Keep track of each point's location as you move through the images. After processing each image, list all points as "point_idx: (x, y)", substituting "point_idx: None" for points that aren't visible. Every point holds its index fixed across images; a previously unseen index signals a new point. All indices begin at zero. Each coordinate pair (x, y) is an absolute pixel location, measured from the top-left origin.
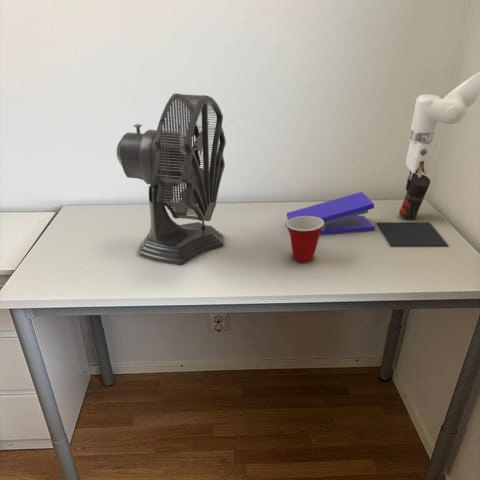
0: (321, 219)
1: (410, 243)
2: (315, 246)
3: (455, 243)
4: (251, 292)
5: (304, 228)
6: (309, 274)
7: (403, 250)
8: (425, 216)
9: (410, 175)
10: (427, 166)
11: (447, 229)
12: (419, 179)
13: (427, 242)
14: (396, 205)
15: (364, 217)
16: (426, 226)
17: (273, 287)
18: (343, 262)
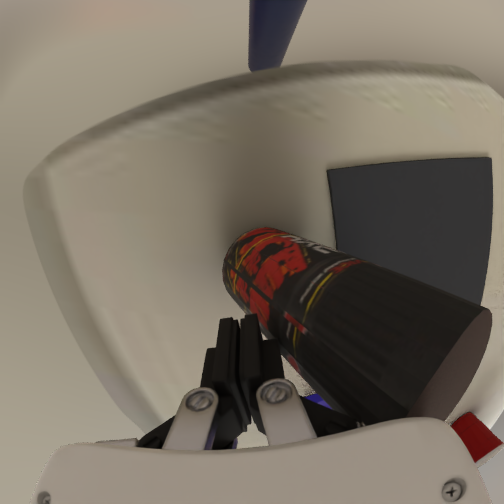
0: (487, 456)
1: (480, 269)
2: (484, 426)
3: (472, 123)
4: (492, 422)
5: None
6: (493, 399)
7: (493, 286)
8: (238, 174)
9: (232, 448)
10: (485, 491)
11: (377, 104)
12: (438, 409)
13: (481, 218)
14: (135, 294)
15: (323, 402)
16: (375, 193)
17: (495, 413)
18: (489, 378)
